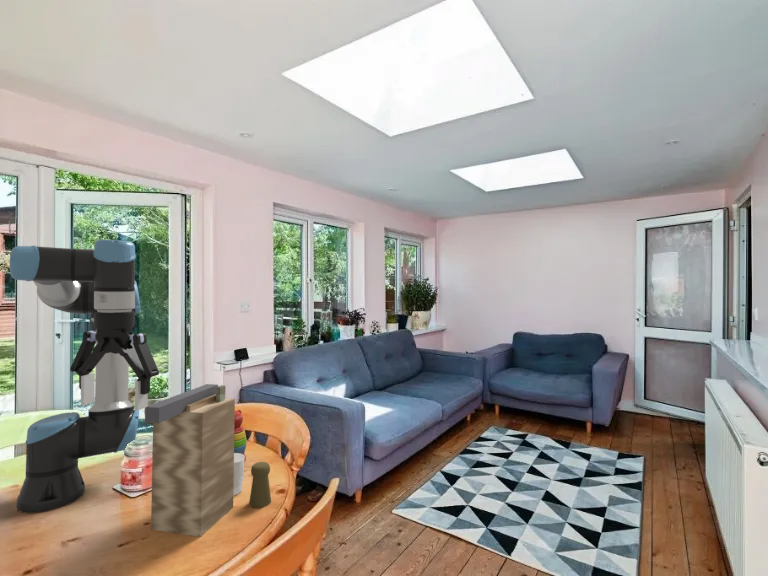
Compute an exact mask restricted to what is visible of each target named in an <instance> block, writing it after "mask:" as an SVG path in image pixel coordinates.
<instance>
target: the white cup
mask: <svg viewBox="0 0 768 576" xmlns="http://www.w3.org/2000/svg"><path fill="white" fill-rule="evenodd" d="M245 456H246V455H245ZM245 456H244V455H243V454H240V453H234V487H233V497H235V496H237V495H239V494H240V493H241V492H242V491H243V490H242V489H243V481H244V472H245V471H244V469H245V462H244V457H245Z"/></svg>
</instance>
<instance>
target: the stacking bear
mask: <svg viewBox="0 0 768 576" xmlns="http://www.w3.org/2000/svg"><path fill="white" fill-rule="evenodd" d="M243 420H244V419H243V414H242V410H241V409H237V410H235V421H234V453H240V454H243V455H244V456H245V457H244V463H245V462H246V460H247V458H246V457H247V456H246V454H245V451H246V448H247V441H248V440H247V436H246V430H245V428H244V427H243V426H242V425H243Z"/></svg>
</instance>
